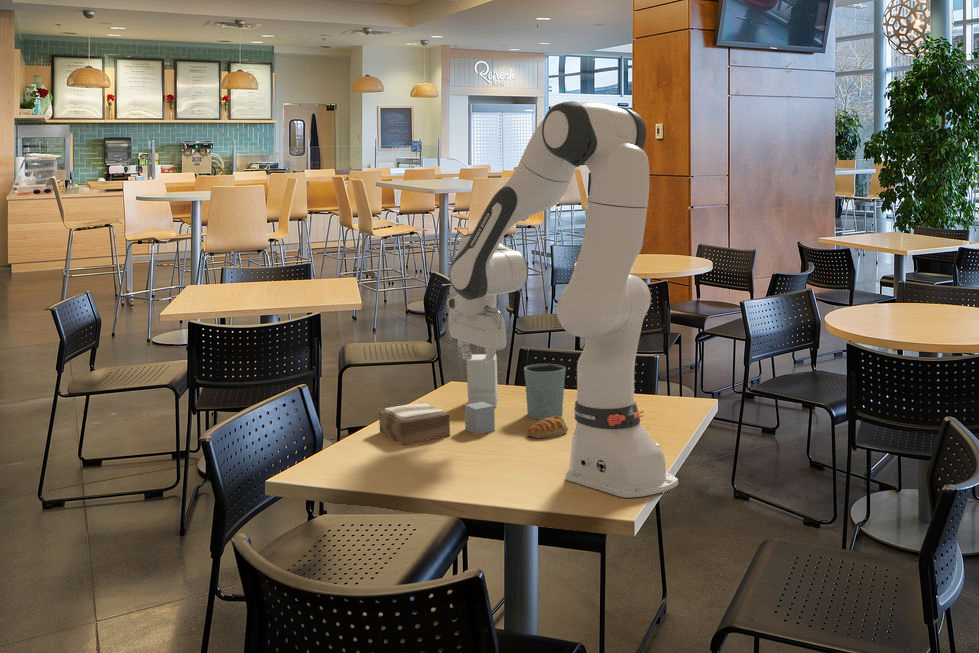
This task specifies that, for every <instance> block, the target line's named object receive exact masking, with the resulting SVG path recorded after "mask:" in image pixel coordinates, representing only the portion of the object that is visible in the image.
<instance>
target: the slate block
mask: <svg viewBox="0 0 979 653" xmlns="http://www.w3.org/2000/svg"><path fill="white" fill-rule="evenodd" d="M495 424H496V423H495V407H494V406H493V405H491V404H488V403H485V402H478V403H472V404H464V426H465V427H464V429H465V430H466V431H468V432H470V433H472V434H475V435H480V434H486V433H491V432H495V429H496V427H495Z"/></svg>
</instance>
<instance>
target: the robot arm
mask: <svg viewBox="0 0 979 653" xmlns="http://www.w3.org/2000/svg"><path fill="white" fill-rule="evenodd" d="M646 140H647V127H646V123H645V122H644V120H643V118H642V117H641V115H640V114H638V113H637V112H635V111H633V110H631V109H628V108H627V107H621V106H620V107H617V106H612V105H608V104H604V103H600V102H594V101H593V102H590V101H589V102H587V101H586V102H585V101H581V102H578V101H575V100H573V101H572V100H571V101H570V100H569V101H563V102H559V103H557V104H554V105H553V106H552V107H550V108H549V109H548V111H547V112H546V114H545V116H544V118H543V119H542V120H541V121H540V123H539V124H538V126H537V127H536V129H535V130H534V132H533V133H532V135H531V138H530V139H529V140H528V143H527V145H526V147H525V149H524V151H523V154H522V156H521V158H520V161H519V163H518V164H517V167H516V168H515V169H514V172H513V173H512V174H511V176H510V177H509V179H508V180H507V182H505V183H504V185H503V186H501V188H500V189H499V190H498V191H497V192H496V193H495V194H494V195H493V196H492V198H491V200H489V203H488V205H487V206H486V208H485V210H484V212H483V213H482V215H481V217H480V219H479V221H478V222H477V224H476V226H475V228H474V230H473V232H472V233H468V234H464V235H463V236H461V237H460V238H459V242H458V247H457V252H456V253H457V255H456V256H455V257H454V259H453V260H452V263H451V265H450V268H449V281H450V284H451V286H452V288H453V289H454V291H455V292H456V295H454V296H452V297H450V298H447V300H446V304H447V308H448V309H449V310H448V332H449V335H450V337H451V338H453V339H457V340H458V344H459V347H460V350H461V353H462V354H461V359H463V360H470V359H472V355H473V353H472V351H471V349H470V345H475V346H476V347H477V346H478V347H480V348H484V352H485V353H484V354H486V357H485V359H483V366H485V367H492V366H493V359H494V356H495V354H496V353H497V351H501V350H504V349H506V347H507V330H506V322H505V319H504V317H503V314H502V313H501V312H500V309H499V308H497V295H502V294H508V293H514V292H517V291H520V290H522V289H523V288H524V286H525V285H526V283H527V282H528V278H529V264H528V261H527V259H526V258H525V256H524V254H523V253H521V252H520V251H519V250H517V249H512V248H511V247H510V248H509V247H507V246H506V245H504V244H503V243H501V242H502V241H503V239H504V238H505V235H506V234H507V232H508V231H509V230H510V229H511V228H512V227H513V226H514V225H516V224H517V223H519V222H521V221H523V220H524V219H527V218H529V217H532V216H534V215H537V214H540V213H542V212H545V211H547V210H550V209H551V208H553V207H555V206H556V205H557V204H558V203H559V201H561V199H562V198H563V196H564V194H565V193H566V192H567V189H568V187H569V185H570V183H571V180H572V178H573V177H574V176H573V175H574V174H575V170H576V169H577V168H578V167H580V166H582V165H585V167H587V169H588V170H589V173H590V179H591V180H590V188H589V195H588V201H587V202H588V204H587V211H586V218H585V219H586V220H585V226H584V236H583V240H582V243H581V244H582V245H581V247H580V252H579V255H578V258H577V260H576V263H575V267H574V268H573V272H572V274H571V277H570V280H569V282H568V284H567V286H566V288H565V289H564V291H562V293H560V294H561V295H560V296H559V298H558V301H557V302H556V303H557V304H556V315H557V319H558V322H559V323H560V325H561V327H562V328H563V329H564V330H565V331H566V332H567V333H568V334H570V335H572V336H574V337H580V338H586V341H585V345H584V347H583V350H582V351H581V354H580V356H579V358H578V361H577V365H576V395H577V396H576V401H575V403H574V411H573V412H574V420H575V421H576V424H575V429H574V433H573V435H572V438H571V439H572V440H571V447H570V458H569V459H570V460H569V469H568V471H567V472H566V474H565V480H567V481H568V482H569V481H570V482H572V483H574V484H575V483H576V484H578V485H581V486H585V487H588V488H591V489H595V490H598V491H601V492H604V493H607V494H610V495H614V496H616V497H620V498H640V497H646V496H652V495H656V494H659V493H663V492H664V493H665V492H666V491H669V490H671V489H673V488H675V487H676V486H677V487H678V485H679V479H678V478H677V477H676V476H674V475H673V474H671V473H669V472H667V471H666V462H665V461H666V460H665V455H664V452H663V450H662V449H661V447H660V444H658V443H657V442H655V440H654V439H652V437H651V436H650V435H649V433H648V432H647V431H646V429H645V428H644V427H643V426H642V425H641V418H644V415H642V414H643V413H644V410H641V411H639V409H638V407H637V403H636V401H635V365H636V358H637V357H636V356H637V352H638V346H639V342H640V337H641V332H642V326H643V322H644V319H645V317H646V314H647V313H648V311H649V309H650V306H651V303H652V302H651V301H652V295H651V291H650V288H649V287H648V285H647V283H646V282H645V281H644V280H643V279H642V278H640V277H639V276H637V275H634V274H631V271H632V268H633V265H634V263H635V261H636V259H637V257H638V255H639V254H640V253H641V250H642V248H643V245H644V234H645V229H646V222H647V220H646V219H647V214H648V213H647V212H648V206H649V199H650V198H649V196H650V195H649V194H650V163H649V157H648V154H646V152H645V151H644V150H643V149H644V147H645V144H646V142H647V141H646ZM496 355H497V354H496Z"/></svg>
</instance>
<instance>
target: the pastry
mask: <svg viewBox="0 0 979 653" xmlns="http://www.w3.org/2000/svg"><path fill="white" fill-rule="evenodd" d="M568 430H569V429H568V426H567V423H566V422H565V419H564V418H563V417H562V416H561V417H560V416H551V417H550V418H544V419H537V422H535V423H533V424H531V426H529V427H528V428H527V436H528V437H532V438H535V439H543V438H544V439H545V438H553V437H557V436H561V435H565V434H566V433H567V432H568Z"/></svg>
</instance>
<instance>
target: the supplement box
mask: <svg viewBox="0 0 979 653" xmlns="http://www.w3.org/2000/svg"><path fill="white" fill-rule="evenodd" d="M485 357H486V353H484V354H483V353H482V354H472V359H470V360H466V376H467V377H466V379H467V382H466V383H467V386H466V387H467V402H468V404H472V403H478V402H485V403H488V404H491V405H493V406H494V408H497V405H498V401H499V395H498V392H499V391H498V390H499V389H498V387H499V386H498V363H497V362H498V361H497V360H498V358H497V354H495V356H494V359H493V366H492V367H485V366H483V359H485Z"/></svg>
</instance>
